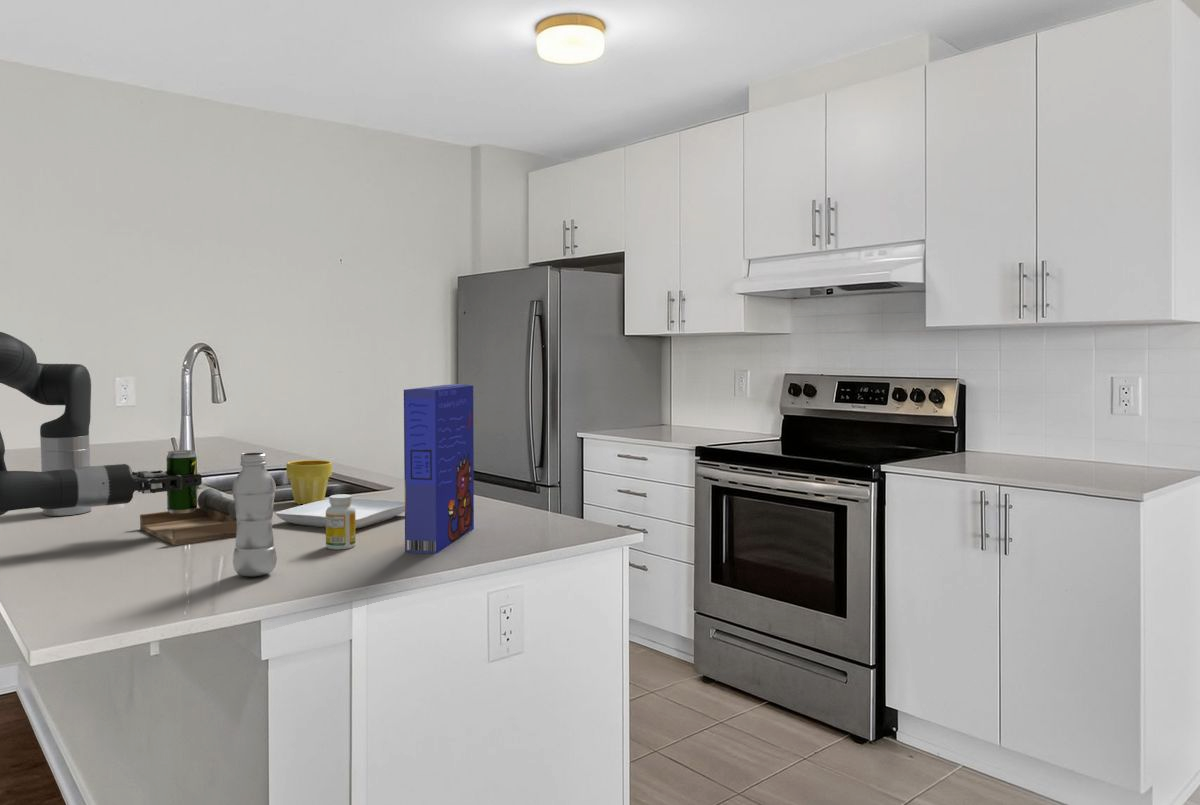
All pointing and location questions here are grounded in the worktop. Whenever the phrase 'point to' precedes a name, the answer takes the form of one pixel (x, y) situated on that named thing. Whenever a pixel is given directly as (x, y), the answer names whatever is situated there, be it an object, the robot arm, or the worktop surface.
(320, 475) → the plant pot
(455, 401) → the cereal box
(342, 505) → the supplement bottle
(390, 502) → the salad plate
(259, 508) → the plastic bottle
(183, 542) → the bay
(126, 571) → the worktop surface
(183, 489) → the beer can
